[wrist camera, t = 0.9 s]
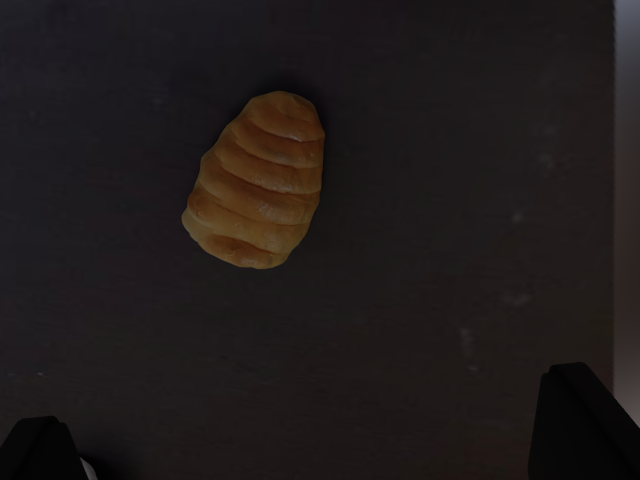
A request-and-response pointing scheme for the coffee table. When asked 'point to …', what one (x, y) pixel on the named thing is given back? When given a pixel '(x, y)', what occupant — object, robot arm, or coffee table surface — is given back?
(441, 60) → the coffee table surface
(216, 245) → the pastry
